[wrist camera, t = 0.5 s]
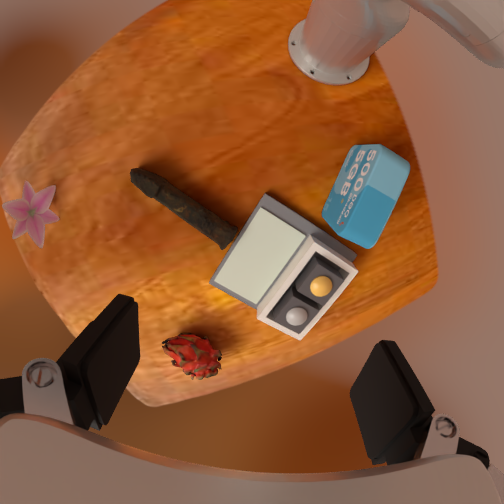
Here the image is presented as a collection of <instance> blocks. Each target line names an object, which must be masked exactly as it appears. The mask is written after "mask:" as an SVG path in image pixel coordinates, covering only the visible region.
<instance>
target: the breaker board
mask: <svg viewBox="0 0 504 504" xmlns="http://www.w3.org/2000/svg"><path fill="white" fill-rule="evenodd" d="M314 256H315V257H317V258H319V259H320V260H322V261H323V262H325V263H326V264H328V265H329V266H331V267H333V268H334V269H336V270H337V271H339V272H340V274H341V275H342V277H343V279H344V282H343V283H342V284H341V286H340V287H339V288H338V289H337V291H336V292H335V293H334V294H333V296H332V297H331V298H330V299H329V301H328V302H327V303H326V304H325V305H324V306H322V305H321V304H319V303H317V304H318V308H319V312H318V314H317V315H316V316H315V317H314V318H313V319H312V321H311V322H310V323H309V324H308V325H307V326H306V327H305V329H304V330H303V331H302V332H301V333H300V334H299V333H297V332H296V331H294V330H292V329H290V328H288V327H286V326H284V325H282V324H280V323H278V322H276V321H274V317H273V309H274V308H275V307H276V305H277V304H278V303H279V302H280V300H281V299H282V298H283V296H284V295H285V294H286V293H287V291H288V290H289V289H290V287H293V288H295V289H296V284H295V281H296V279H297V278H298V277H299V276H300V274H301V273H302V272H303V270H304V269H305V267H306V266H307V265H308V263H309V262H310V261H311V259H312V258H313V257H314ZM356 256H357V254H356V253H355V252H354V251H352V250H351V249H349V248H348V247H346V246H345V245H344V244H342V243H341V242H339V241H338V240H336V239H335V238H333V237H332V236H331V235H329V234H328V233H326V232H325V231H323V230H322V229H320V228H319V227H317V226H316V225H314V224H313V223H311V222H310V221H308V220H307V219H305V218H304V217H302V216H301V215H299V214H298V213H296V212H295V211H293V210H291V209H290V208H288V207H287V206H285V205H284V204H282V203H280V202H279V201H277V200H276V199H274V198H273V197H271V196H269V195H268V194H266V193H265V194H264V195H263V197H262V198H261V200H260V201H259V203H258V205H257V206H256V208H255V209H254V211H253V212H252V214H251V216H250V217H249V219H248V220H247V222H246V223H245V225H244V227H243V228H242V230H241V231H240V233H239V234H238V236H237V238H236V239H235V241H234V242H233V244H232V246H231V247H230V249H229V250H228V252H227V254H226V255H225V257H224V258H223V260H222V262H221V263H220V265H219V266H218V268H217V270H216V271H215V273H214V275H213V276H212V278H211V279H210V281H209V283H210V284H211V285H213V286H215V287H217V288H218V289H220V290H222V291H224V292H226V293H227V294H229V295H231V296H233V297H235V298H236V299H238V300H240V301H242V302H244V303H245V304H247V305H249V306H251V307H253V308H255V309H257V319H258V320H260V321H262V322H264V323H266V324H268V325H270V326H272V327H274V328H276V329H278V330H280V331H282V332H284V333H286V334H288V335H290V336H292V337H294V338H296V339H298V340H301V339H302V338H303V337H304V336H305V335H306V334H307V333H308V332H309V331H310V329H311V328H312V327H313V326H314V325H315V324H316V323H317V321H318V320H319V319H320V318H321V317H322V316H323V315H324V313H325V312H326V311H327V310H328V309H329V307H330V306H331V305H332V304H333V303H334V302H335V300H336V299H337V298H338V297H339V295H340V294H341V293H342V292H343V291H344V289H345V288H346V287H347V286H348V284H349V283H350V282H351V281H352V279H353V278H354V277H355V275H356V274H357V273H358V272H359V271H358V270H357V269H356V267H355V266H354V265H353V263H352V262H353V260H354V259H355V258H356ZM296 290H297V289H296Z"/></svg>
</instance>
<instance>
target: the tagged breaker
mask: <svg viewBox="0 0 504 504" xmlns="http://www.w3.org/2000/svg"><path fill="white" fill-rule="evenodd" d="M343 282H344V279H343V277H342V275H341V274H340V272H339V271H337V270H336V269H334V268H333V267H331V266H329V265H328V264H326V263H325V262H323V261H322V260H320V259H319V258H317V257H315V256H314V257H313V258H312V259H311V261H310V262H309V263H308V265H307V266H306V267H305V269H304V270H303V272H302V273H301V274H300V276H299V277H298V278H297V279H296V281H295V284H296V289H297V291H298V292H300V293H301V294H303V295H305V296H307V297H308V298H310V299H312V300H314V301H315V302H317V303H319V304H321V305H322V306H324V305H325V304H326V303H327V302H328V301H329V299H330V298H331V297H332V296H333V294H334V293H335V292H336V291H337V289H338V288H339V287H340V286H341V284H342V283H343Z"/></svg>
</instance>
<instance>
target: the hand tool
mask: <svg viewBox="0 0 504 504" xmlns="http://www.w3.org/2000/svg"><path fill="white" fill-rule="evenodd" d="M130 176H131V182H132V183H133V184H134V185H135V186H136V187H138V188H139V189H140V190H141V191H142V192H143V193H144V194H145V195H147V196H148V197H150V198H154V199H156V200H157V201H158V202H160V203H162V204H163V205H164V206H166V207H167V208H169V209H170V210H171V211H172V212H174V213H175V214H176V215H178V216H179V217H180V218H182V219H183V220H185V221H186V222H187V223H189V224H190V225H192V226H193V227H194V228H196V229H197V230H199V231H200V232H201V233H203V234H204V235H206V236H207V237H209V238H210V239H212V240H213V241H214V242H216V243H217V244H218V245H219V246H220V249H221V250H223V249H225V248H226V246H227V245H228V244H229V243H230V242H231V241H232V239H233V238H234V236H235V234H236V232H237V227H235V226H231V225H230V224H229V223H228V222H227V221H223V220H222V219H221V218H219V217H218V216H217V215H216V214H214V213H213V212H211V211H210V210H207V209H206V208H204V207H203V206H202V205H201V204H200V203H198V202H196V201H195V200H193V199H192V198H190V197H189V196H187V195H186V194H184V193H183V192H181V191H180V190H178V189H177V188H175V187H174V186H173V185H171V184H170V183H169V182H168V181H167V180H166V179H164V178H162V177H161V176H159V175H157V174H154V173H152V172H149V171H146V170H143V169H140V168H134V169H131V172H130Z"/></svg>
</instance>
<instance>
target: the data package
mask: <svg viewBox="0 0 504 504" xmlns="http://www.w3.org/2000/svg"><path fill="white" fill-rule="evenodd" d="M409 172H410V164H409V162H408V161H406V160H405V159H403V158H402V157H400V156H399V155H397V154H396V153H394V152H393V151H391V150H389V149H388V148H386V147H385V146H383V145H381V144H366V145H354V146H353V147H352V148H351V149H350V151H349V152H348V154H347V157H346V159H345V161H344V164H343V166H342V168H341V170H340V173H339V175H338V177H337V179H336V181H335V184H334V186H333V188H332V190H331V192H330V194H329V197H328V199H327V201H326V203H325V205H324V207H323V211H322V217H323V218H324V219H325V221H326V222H327V223H328V224H329V225H330V226H331V227H332V229H333V230H334V231H335V232H336V233H337V234H338V235H339V236H341V237H343V238H345V239H347V240H349V241H352V242H354V243H356V244H358V245H360V246H362V247H364V248H366V249H370V248H372V247H373V246H374V245H375V244H376V242H377V241H378V239H379V237H380V235H381V233H382V231H383V229H384V227H385V225H386V223H387V221H388V219H389V217H390V215H391V213H392V211H393V209H394V206H395V204H396V202H397V200H398V198H399V196H400V193H401V191H402V189H403V187H404V184H405V182H406V180H407V177H408V175H409Z"/></svg>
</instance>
